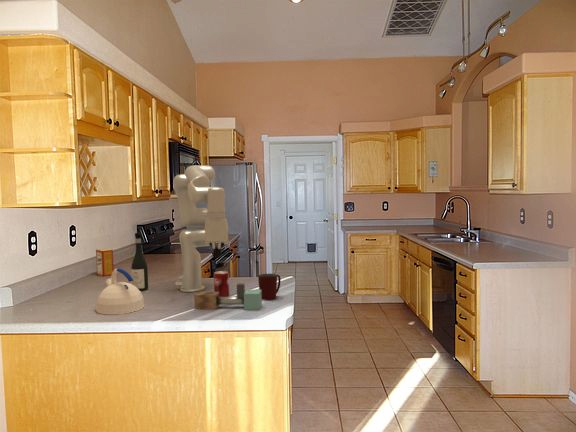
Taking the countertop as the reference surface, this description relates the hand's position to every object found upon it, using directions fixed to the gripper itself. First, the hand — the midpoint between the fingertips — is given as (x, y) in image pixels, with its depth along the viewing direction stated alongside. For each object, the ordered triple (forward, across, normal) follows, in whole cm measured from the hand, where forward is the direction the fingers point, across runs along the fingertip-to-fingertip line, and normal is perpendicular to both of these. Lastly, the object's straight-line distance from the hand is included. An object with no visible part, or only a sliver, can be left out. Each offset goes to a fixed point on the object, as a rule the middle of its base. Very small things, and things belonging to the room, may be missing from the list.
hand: (217, 257), depth 198 cm
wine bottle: (+23, -50, +34) cm, 64 cm away
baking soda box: (+24, -89, +74) cm, 118 cm away
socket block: (+22, +16, -1) cm, 27 cm away
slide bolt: (+21, +5, -1) cm, 22 cm away
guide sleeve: (+22, -5, -1) cm, 23 cm away
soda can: (+23, -3, +18) cm, 29 cm away
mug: (+22, +21, +16) cm, 35 cm away
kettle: (+23, -44, -2) cm, 49 cm away
